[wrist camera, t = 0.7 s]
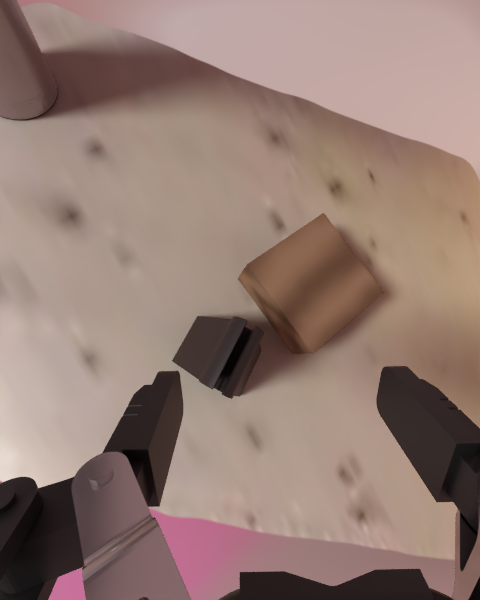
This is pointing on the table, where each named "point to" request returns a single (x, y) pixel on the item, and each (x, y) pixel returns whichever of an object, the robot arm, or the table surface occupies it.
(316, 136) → the table surface
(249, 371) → the phone stand
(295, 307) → the walnut block
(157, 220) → the table surface
